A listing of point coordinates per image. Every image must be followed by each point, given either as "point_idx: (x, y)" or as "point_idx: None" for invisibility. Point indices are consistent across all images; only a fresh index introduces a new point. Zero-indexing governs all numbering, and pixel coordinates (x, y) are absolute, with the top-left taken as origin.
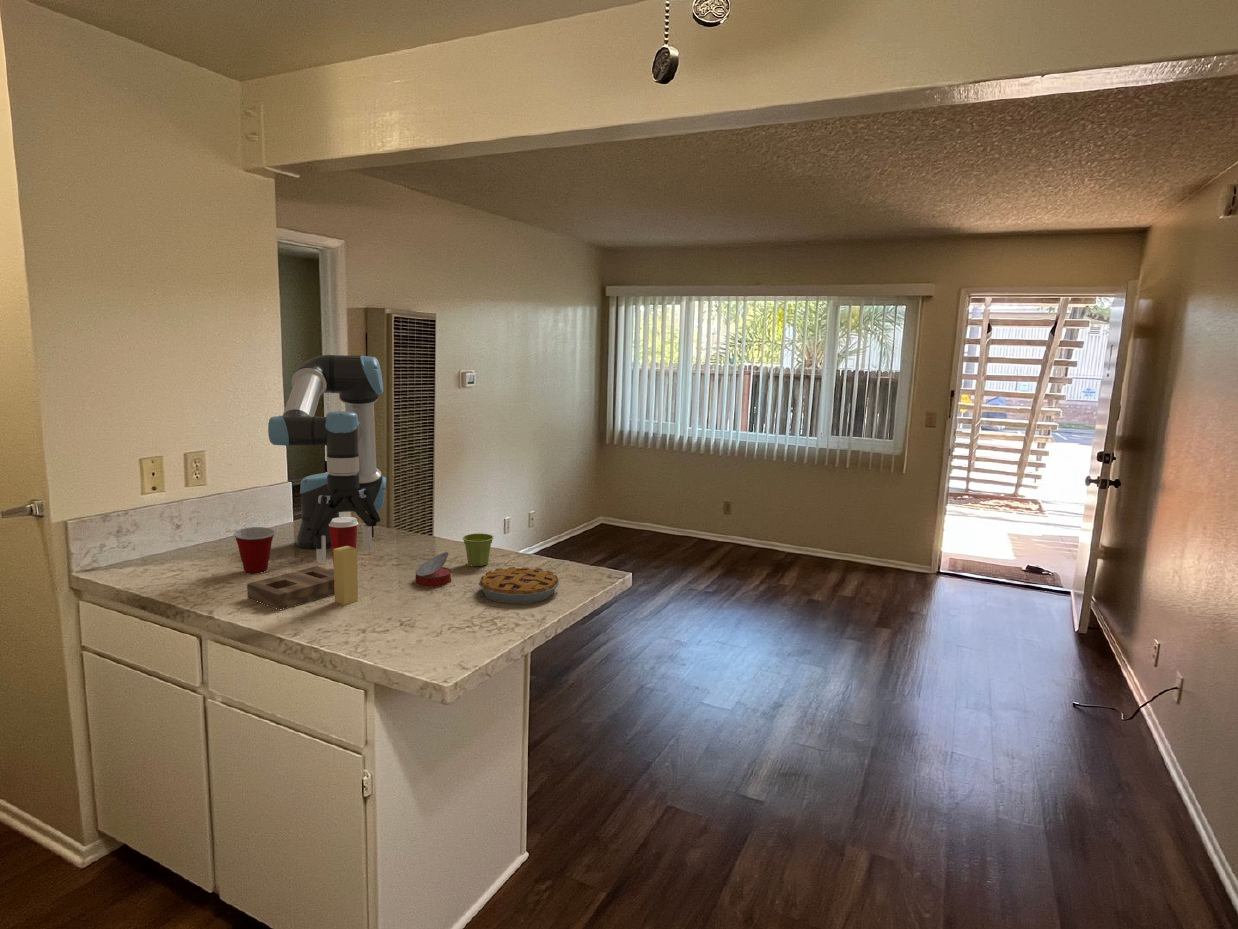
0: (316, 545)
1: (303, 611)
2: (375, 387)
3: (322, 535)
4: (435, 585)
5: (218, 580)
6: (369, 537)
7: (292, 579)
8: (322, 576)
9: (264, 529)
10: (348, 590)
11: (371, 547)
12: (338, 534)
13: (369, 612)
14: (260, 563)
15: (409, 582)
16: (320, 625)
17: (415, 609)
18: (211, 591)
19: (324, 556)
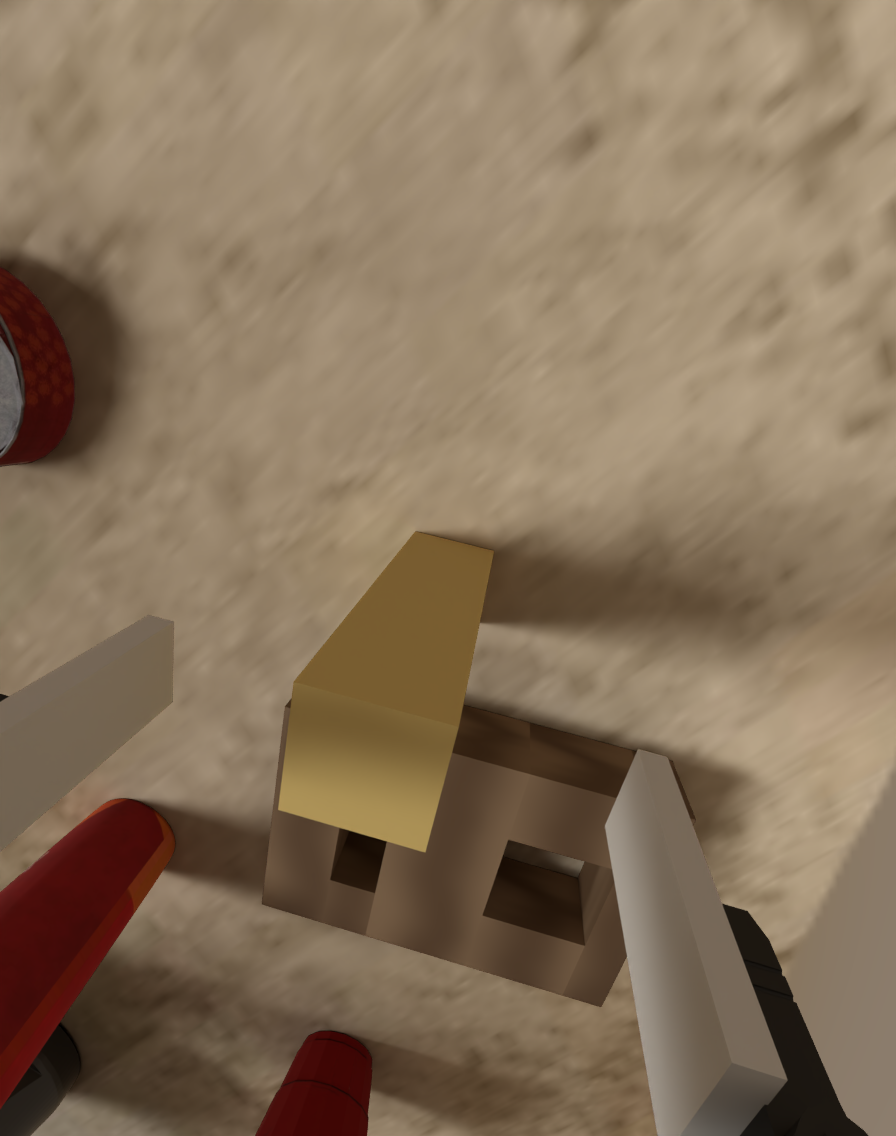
0: (776, 975)
1: (645, 665)
2: None
3: (718, 1104)
4: (25, 290)
5: (470, 1095)
6: (54, 696)
7: (468, 890)
8: None
9: None
10: (461, 567)
11: (129, 630)
12: (20, 1021)
13: (534, 350)
14: (335, 1082)
15: (77, 475)
16: (807, 460)
17: (375, 107)
18: (574, 1062)
19: (668, 794)
